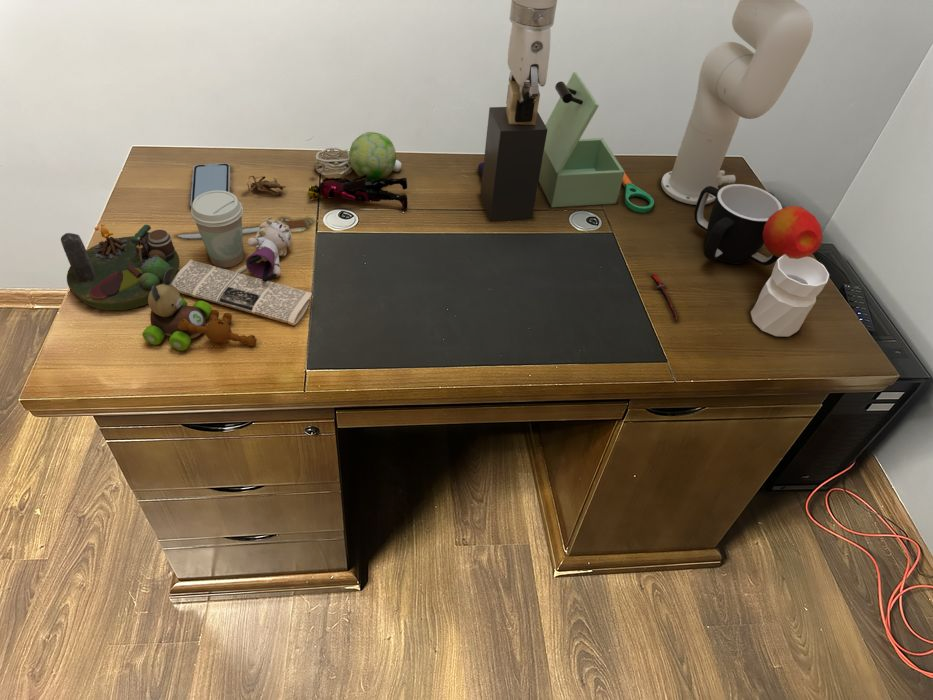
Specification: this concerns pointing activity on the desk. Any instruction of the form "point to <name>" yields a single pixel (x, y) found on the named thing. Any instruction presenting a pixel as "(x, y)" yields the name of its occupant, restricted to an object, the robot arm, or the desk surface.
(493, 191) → the block
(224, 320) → the toy figurine
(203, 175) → the smartphone
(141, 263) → the toy scene
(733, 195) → the mug
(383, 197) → the action figure
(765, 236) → the apple
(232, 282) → the newspaper
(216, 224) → the coffee cup
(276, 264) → the toy
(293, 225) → the sword
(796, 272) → the vase
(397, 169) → the spheres
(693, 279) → the desk surface
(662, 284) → the katana
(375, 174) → the decorative ball
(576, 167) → the storage box
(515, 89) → the block
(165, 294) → the toy car
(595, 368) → the desk surface
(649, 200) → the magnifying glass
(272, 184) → the insect
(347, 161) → the bracelet
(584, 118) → the lid
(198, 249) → the desk surface
